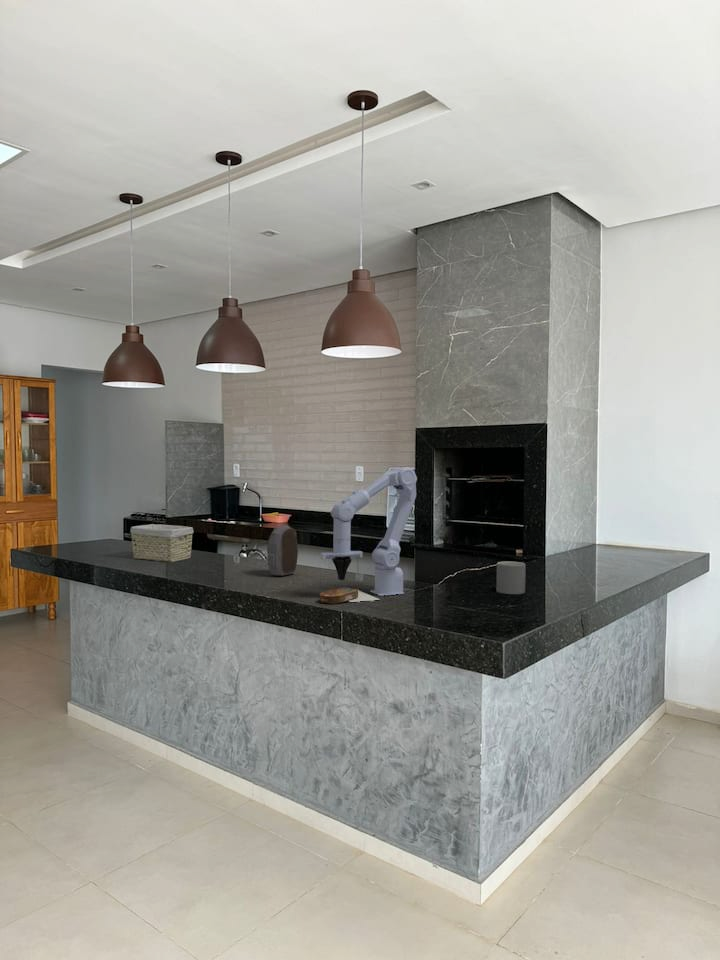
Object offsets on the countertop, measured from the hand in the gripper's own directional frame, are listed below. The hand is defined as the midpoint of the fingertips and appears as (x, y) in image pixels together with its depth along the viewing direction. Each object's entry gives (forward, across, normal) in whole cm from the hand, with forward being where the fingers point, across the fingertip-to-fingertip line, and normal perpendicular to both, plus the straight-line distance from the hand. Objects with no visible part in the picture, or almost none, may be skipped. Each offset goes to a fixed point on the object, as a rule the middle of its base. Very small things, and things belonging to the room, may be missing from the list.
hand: (341, 579), depth 236 cm
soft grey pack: (+6, +4, -49) cm, 50 cm away
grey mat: (+6, -4, 0) cm, 7 cm away
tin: (+5, +5, +1) cm, 7 cm away
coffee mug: (+6, -62, +12) cm, 63 cm away
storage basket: (+6, +40, -109) cm, 116 cm away
